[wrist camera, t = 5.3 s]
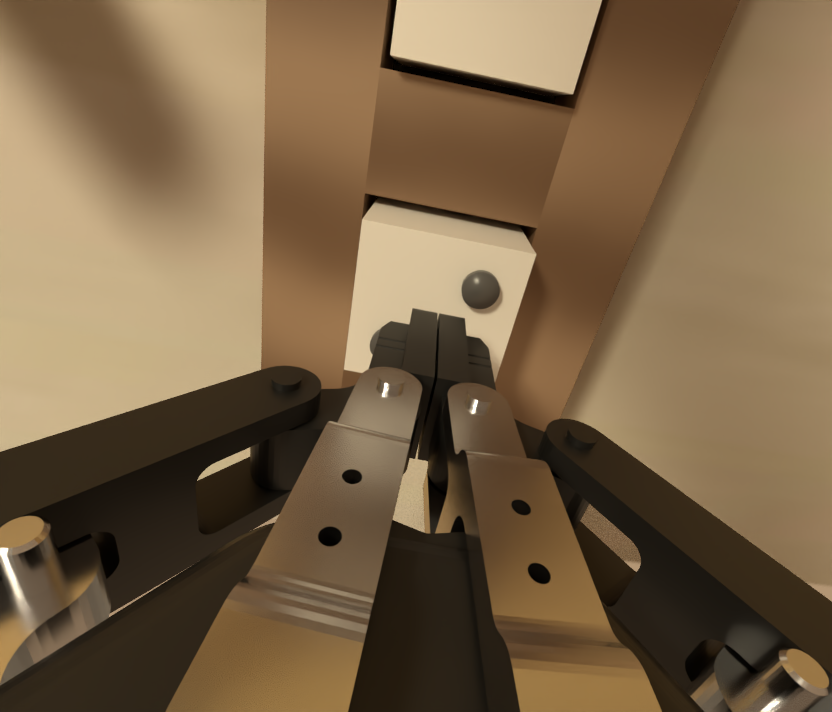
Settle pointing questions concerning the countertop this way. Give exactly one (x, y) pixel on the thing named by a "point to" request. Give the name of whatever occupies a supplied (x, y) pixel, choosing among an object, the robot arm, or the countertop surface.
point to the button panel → (468, 173)
